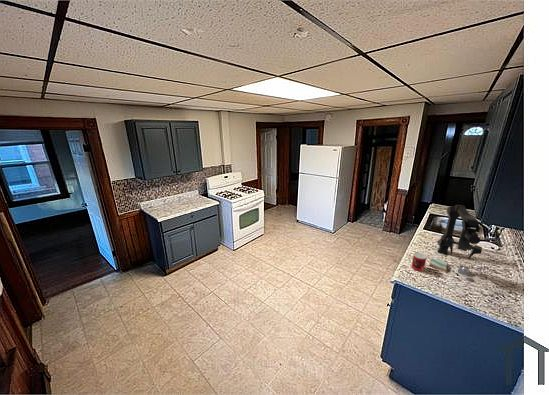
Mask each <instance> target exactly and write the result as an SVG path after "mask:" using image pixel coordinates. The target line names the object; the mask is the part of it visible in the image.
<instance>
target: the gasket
mask: <svg viewBox="0 0 549 395" xmlns="http://www.w3.org/2000/svg"><path fill="white" fill-rule="evenodd" d="M465 280H466V281H468V282H470V283H474V282H475V279H473V278H472V277H468V276H466V277H465Z"/></svg>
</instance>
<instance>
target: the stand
mask: <svg viewBox="0 0 549 395" xmlns="http://www.w3.org/2000/svg"><path fill="white" fill-rule="evenodd" d="M448 265H449V263H448V262H446V261H443V260H440V259H437V258H434V257H432V258H431V259H430V261H429V266H428V267H429V268H433V269H435V270H438V271H441V272H444V273H446V272H447V270H448Z"/></svg>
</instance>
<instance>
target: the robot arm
mask: <svg viewBox="0 0 549 395" xmlns="http://www.w3.org/2000/svg"><path fill="white" fill-rule="evenodd" d="M446 214H447V216H448V217H447V218H448V219H447V223H446V227H445V232H444V234H442V235H441V237H440V239H438V240H437V245H438V249H437V253H439V254H443V255H445V256H448V253H449V249H450V254H452V253H453V252H454V250H453V249H454V245H456V246H457V250H460V251H463V252H467V251H470V252H469V255H468V258H467V260H469V259H470V258H471V257H472V256H474V255H478V254H479V255H481V254H482V251H483V248H482V246H480V245H477V244H479V243H480V242H481V238H480V236H479V234H478V233H480V230H481V227H480V226H481V225H480V223H479V221H478V219H476V217H474V216H471V214H470V213H469V211H468V210H467V208H466V205H461V204H455V205H450V206H448V207H447V208H446ZM458 218H461V219H462V220H461V225H462V226H461V227H462V230H461V232H460V236H459V239H458V241H456V240H455V239H454V237H453V233H454V230H455V226H456V222H457V219H458ZM473 245H474V246H473Z"/></svg>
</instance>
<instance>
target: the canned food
mask: <svg viewBox="0 0 549 395" xmlns="http://www.w3.org/2000/svg"><path fill="white" fill-rule="evenodd" d="M427 258H428V257H427V255H426V254H425V253H422V252H418V251H415V252H414V253H413V257H412V261H411V268H412V270H414V271H416V272H423V271H424V269H425V266H426V261H427Z"/></svg>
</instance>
